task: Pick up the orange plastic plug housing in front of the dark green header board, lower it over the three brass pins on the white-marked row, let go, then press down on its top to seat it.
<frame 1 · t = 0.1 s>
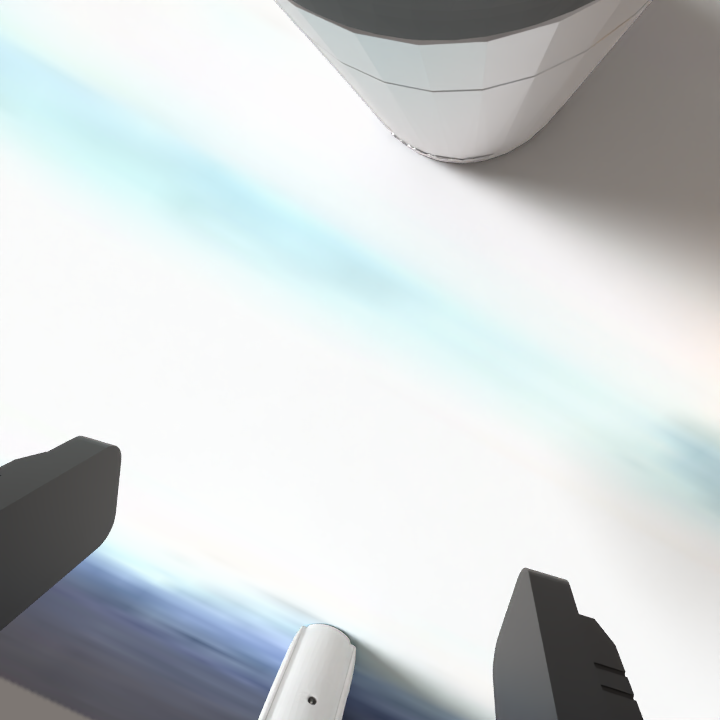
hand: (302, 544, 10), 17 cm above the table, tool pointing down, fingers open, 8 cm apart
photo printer: (313, 683, 33), on the table
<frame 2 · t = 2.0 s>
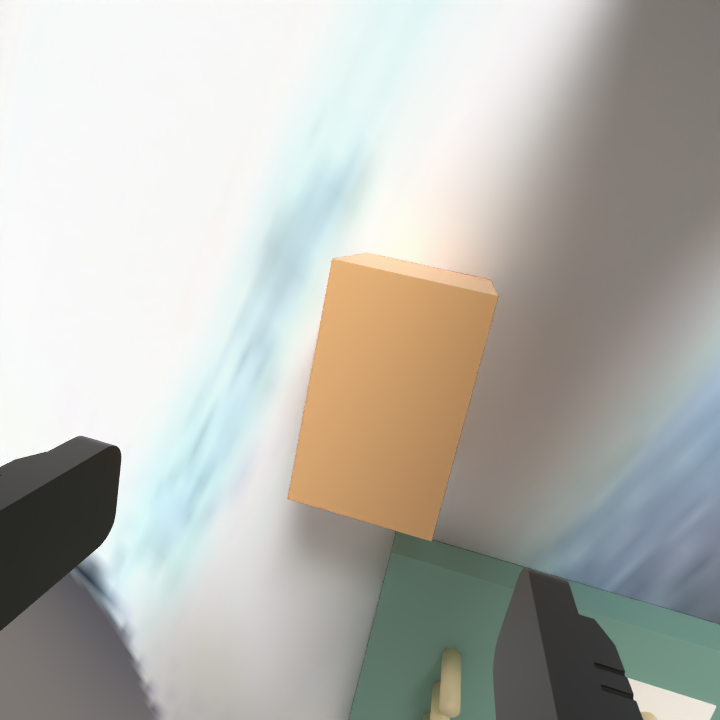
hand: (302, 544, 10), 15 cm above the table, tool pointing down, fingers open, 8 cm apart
header board: (529, 685, 27), on the table
housing: (405, 363, 25), on the table
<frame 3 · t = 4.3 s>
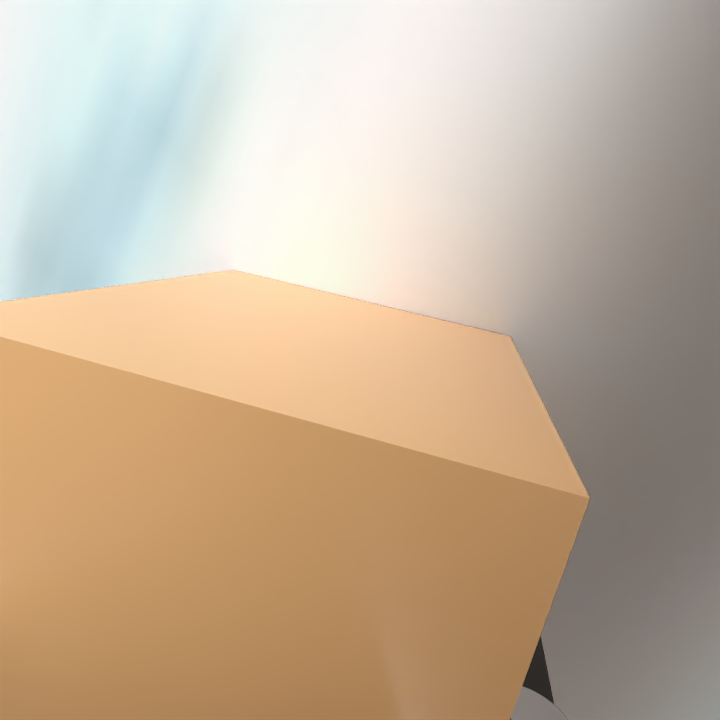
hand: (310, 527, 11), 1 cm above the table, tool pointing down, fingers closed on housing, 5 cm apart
housing: (322, 508, 12), on the table, touching gripper
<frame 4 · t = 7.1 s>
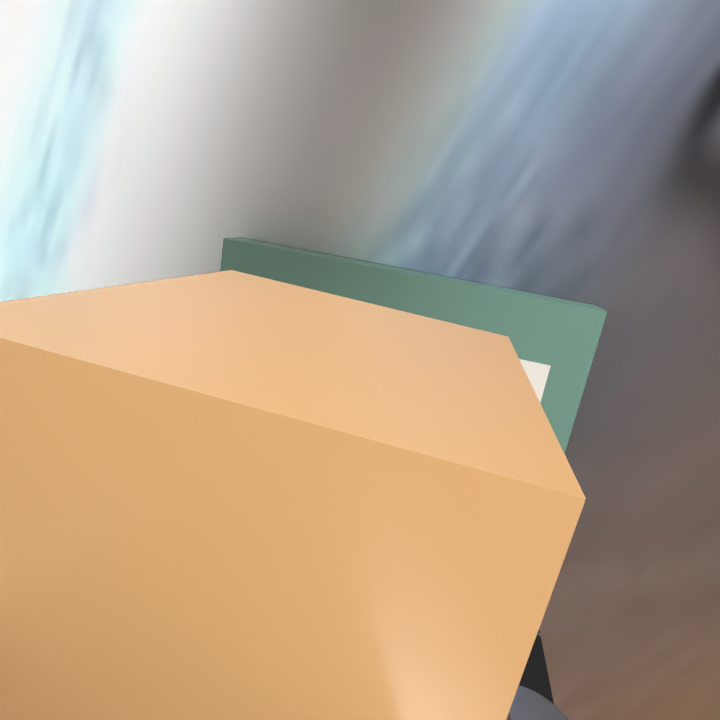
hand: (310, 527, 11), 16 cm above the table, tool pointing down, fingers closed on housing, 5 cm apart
header board: (385, 397, 27), on the table
housing: (320, 508, 12), point 15 cm above the table, touching gripper
when the fingers open (3 cm above the table, at t = 10.3 s): housing stays where it is, resting on header board.
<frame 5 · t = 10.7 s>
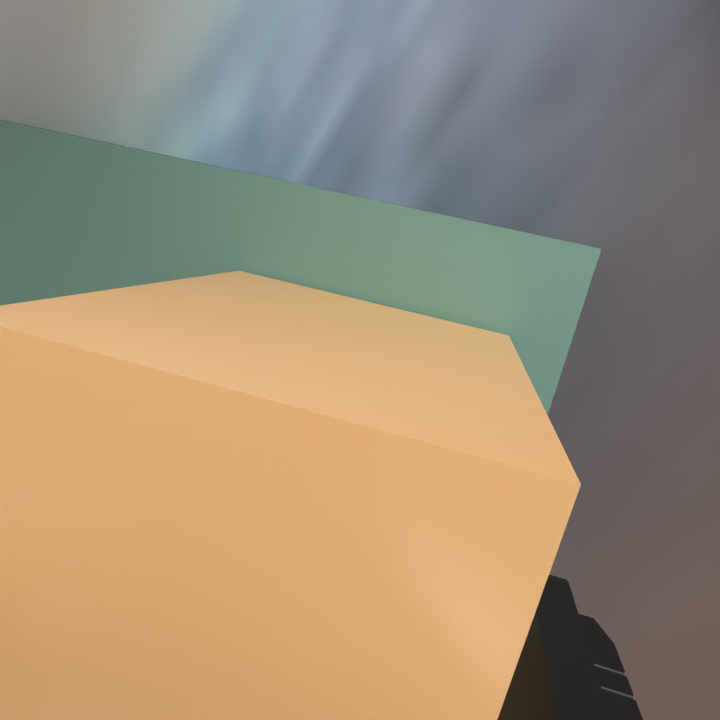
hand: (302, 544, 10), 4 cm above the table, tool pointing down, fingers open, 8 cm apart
header board: (184, 418, 14), on the table
housing: (325, 502, 12), point 2 cm above the table, touching header board
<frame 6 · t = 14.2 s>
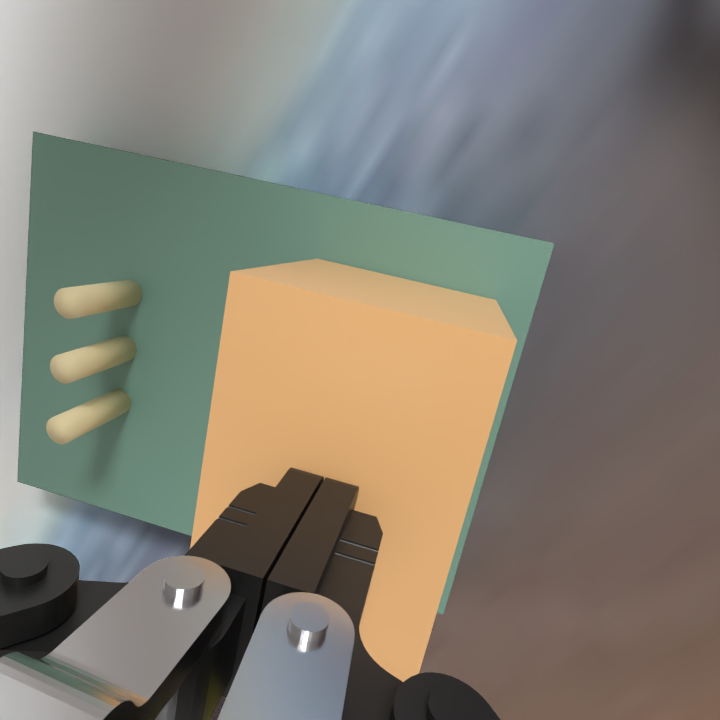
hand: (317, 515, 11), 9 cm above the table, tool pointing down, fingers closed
header board: (265, 367, 20), on the table
housing: (372, 416, 17), point 2 cm above the table, touching gripper, header board
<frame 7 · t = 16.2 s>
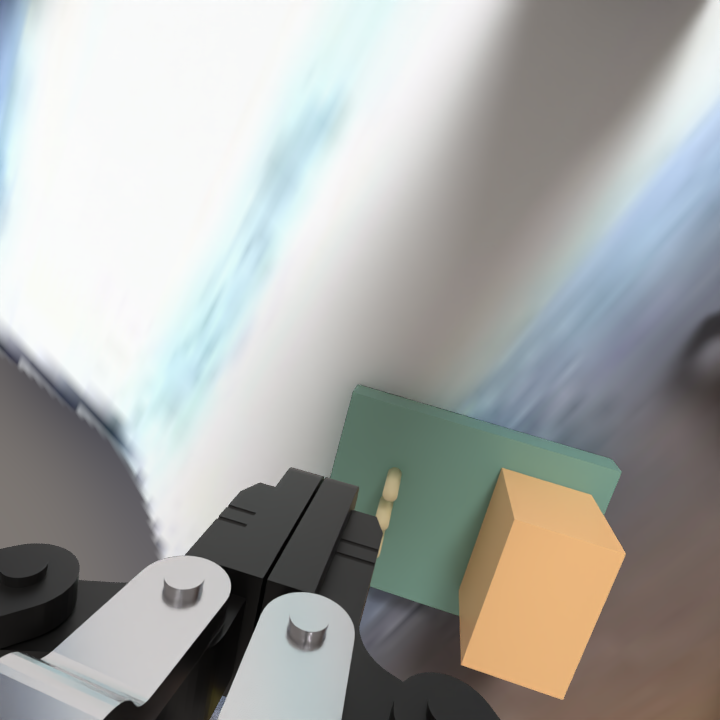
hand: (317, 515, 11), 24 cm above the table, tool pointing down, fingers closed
header board: (453, 507, 36), on the table
housing: (522, 544, 34), point 2 cm above the table, touching header board
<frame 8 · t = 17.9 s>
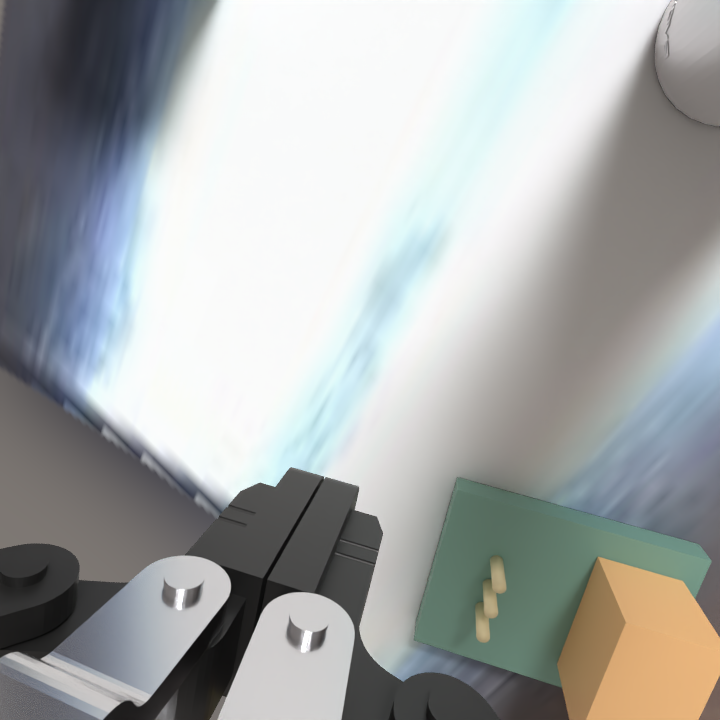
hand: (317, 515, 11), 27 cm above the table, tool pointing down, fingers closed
header board: (547, 585, 40), on the table
housing: (617, 624, 37), point 2 cm above the table, touching header board
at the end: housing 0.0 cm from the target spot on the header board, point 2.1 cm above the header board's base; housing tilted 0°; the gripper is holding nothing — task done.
